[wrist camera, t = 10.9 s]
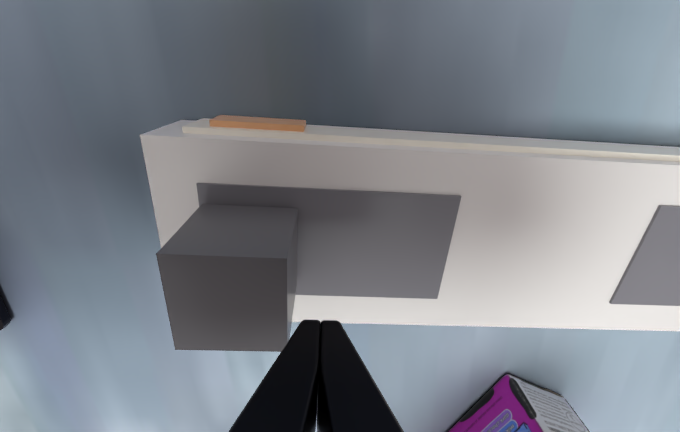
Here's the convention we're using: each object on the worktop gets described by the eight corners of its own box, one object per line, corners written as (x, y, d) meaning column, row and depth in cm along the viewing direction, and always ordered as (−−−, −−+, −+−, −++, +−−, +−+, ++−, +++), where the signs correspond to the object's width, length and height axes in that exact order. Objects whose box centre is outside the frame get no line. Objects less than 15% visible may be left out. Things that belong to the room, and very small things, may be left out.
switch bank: (735, 291, 17) (817, 336, 14) (202, 273, 15) (173, 320, 12) (834, 149, 14) (965, 170, 11) (179, 108, 12) (135, 121, 9)
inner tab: (296, 285, 12) (287, 351, 9) (211, 282, 11) (175, 349, 9) (297, 208, 10) (287, 258, 8) (201, 203, 10) (156, 253, 7)
